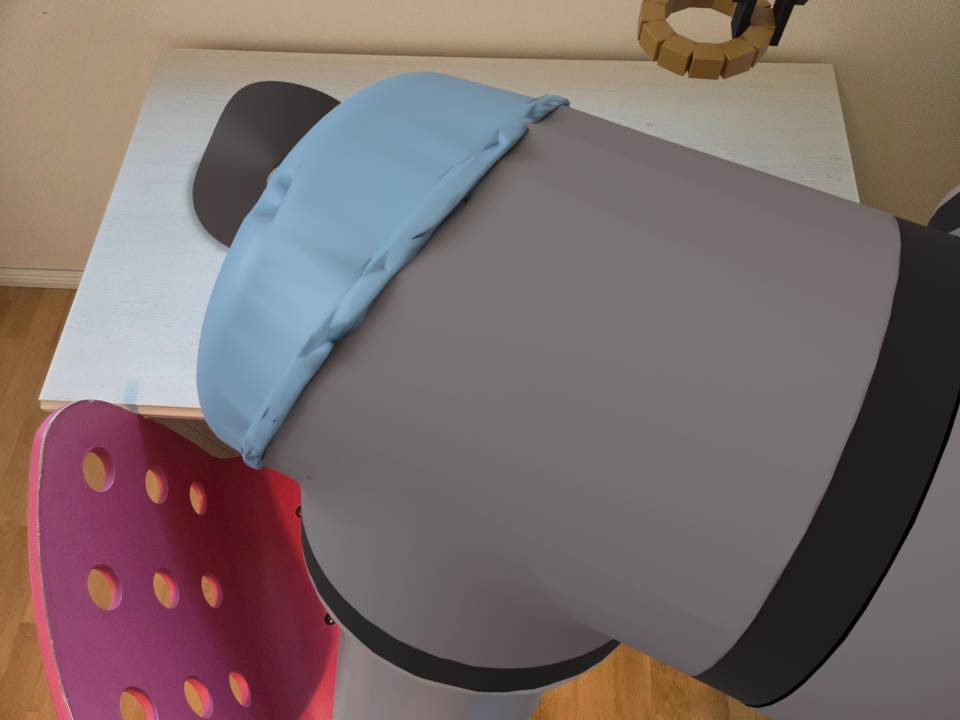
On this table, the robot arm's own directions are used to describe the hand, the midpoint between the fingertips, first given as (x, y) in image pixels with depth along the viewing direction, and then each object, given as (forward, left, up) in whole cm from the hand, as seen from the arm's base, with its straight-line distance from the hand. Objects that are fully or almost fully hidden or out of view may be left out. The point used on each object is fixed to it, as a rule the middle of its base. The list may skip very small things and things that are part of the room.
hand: (754, 33), depth 59 cm
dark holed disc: (+3, +51, -30) cm, 59 cm away
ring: (0, +4, 0) cm, 4 cm away
